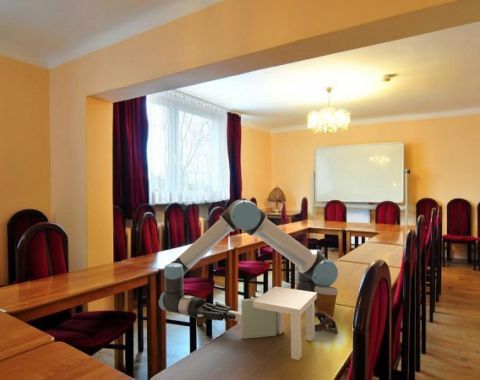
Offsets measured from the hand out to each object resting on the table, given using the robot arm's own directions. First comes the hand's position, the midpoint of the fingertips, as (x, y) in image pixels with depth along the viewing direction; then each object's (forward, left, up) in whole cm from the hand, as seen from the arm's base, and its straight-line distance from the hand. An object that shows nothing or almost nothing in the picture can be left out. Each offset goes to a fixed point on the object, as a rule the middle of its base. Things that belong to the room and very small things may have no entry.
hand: (244, 317), depth 117 cm
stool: (-2, +16, -6) cm, 17 cm away
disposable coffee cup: (-29, +21, -7) cm, 37 cm away
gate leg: (-2, +5, -6) cm, 8 cm away
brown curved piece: (-17, +24, -7) cm, 30 cm away
